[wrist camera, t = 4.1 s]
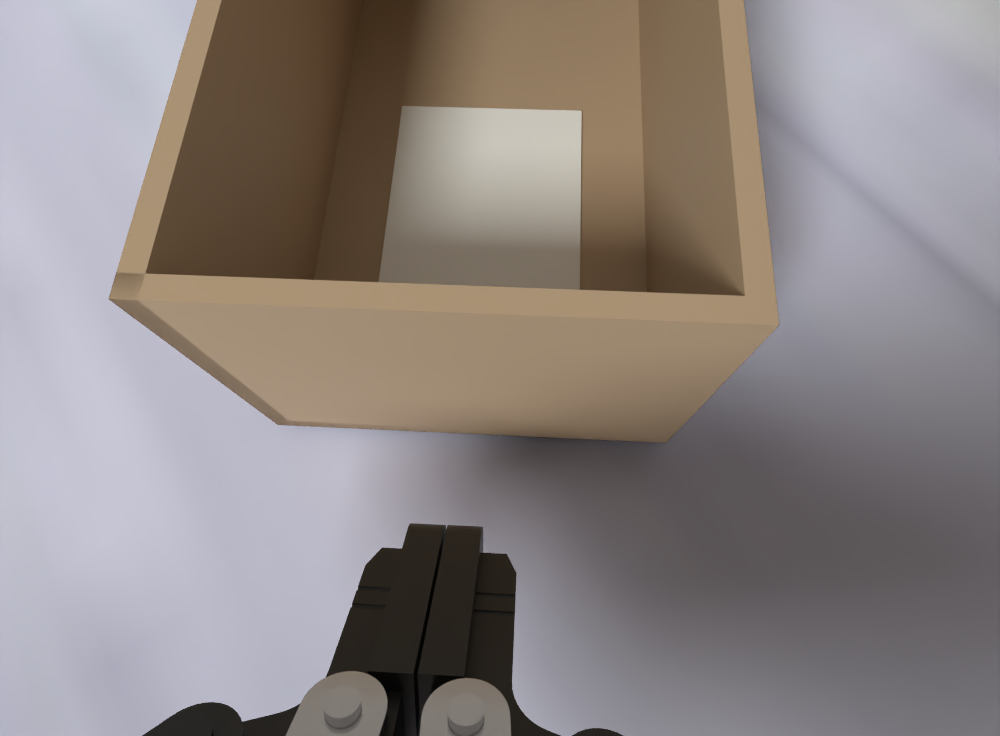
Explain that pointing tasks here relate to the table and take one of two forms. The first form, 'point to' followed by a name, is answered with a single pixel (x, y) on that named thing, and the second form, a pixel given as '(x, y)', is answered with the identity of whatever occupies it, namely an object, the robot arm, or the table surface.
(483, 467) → the table surface
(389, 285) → the wooden drawer
